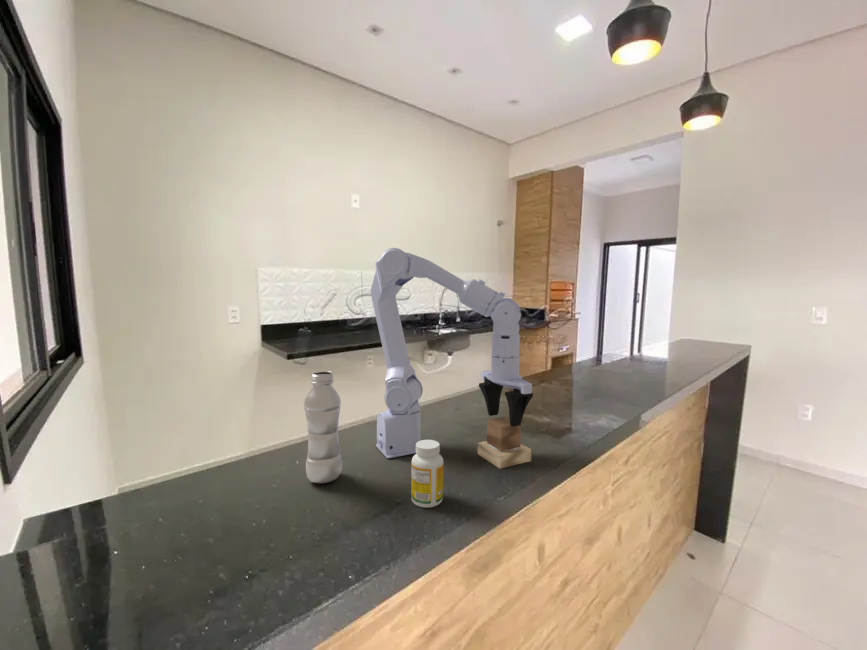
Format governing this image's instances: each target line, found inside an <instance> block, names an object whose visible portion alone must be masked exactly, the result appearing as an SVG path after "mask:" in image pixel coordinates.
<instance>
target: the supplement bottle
mask: <svg viewBox="0 0 867 650" xmlns="http://www.w3.org/2000/svg"><path fill="white" fill-rule="evenodd" d="M440 446H441V445H440V443H439V442H438V441H437V440H434V439H422V440H421V439H420V441H418V442H417V443H416V453H414V455H413V456H412V459H411V464H410V465H411V470H410V471H411V476H410V478H411V479H410V481H411V485H410V487H411V488H410V489H411V491H410V496H411V497H410V498H411V502H412V503H413V504H414V505H415V506H417V507H419V508H424V509H425V508H428V509H429V508H434V507H437V506H438V505H440V504H441V503H442V501H443V499H444V463H445V461H444V457H443V456H442V454H440V452H441V447H440Z"/></svg>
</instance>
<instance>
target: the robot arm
mask: <svg viewBox="0 0 867 650" xmlns="http://www.w3.org/2000/svg"><path fill="white" fill-rule="evenodd" d="M374 272H375V273H374V276H373V278H372V279H373V280H372V284H371V287H370V297H371V300H372V301H371V302H372V305H373V310H374V314H375V315H374V316H375V319H376V325H377V328H378V332H379V337H380V342H381V345H382V346H381V347H382V351H383V356H384V360H385V365H386V374H385V379H384V384H385V393H384V402H385V405H386V406H387V410H385V411H383V412H379V413H378V414H377V417H376V444H375V446H376V447H377V449H378V450H379V451H380V452H381V453H382V454H383V455H384V457H385V458H386V459H392V458H397V457H402V456H408V455H413V454H417V453H416V443H417V442H418V441H421V405H420V403H419V400H420V398H421V397H422V395H423V391H424V389H423V385H422V382H421V381H420V379H418V377H417V374H416V370H415V368H414V367H413V366H412V364H411V363H410V357H409V354H408V352H409V351H408V349H407V345H406V338H405V334H404V330H403V326H402V321H401V317H400V311H399V307H398V302H397V298H396V296H397V295H398V293H399V292H400V290H401V289H402V288H403V286H404V285H406V284H407V283H408V282H410V281H411V280H413V279H414V278H417V279H426V278H427V279H428V280H430V281H432V282H434V283H436V284H438V285H440V286H442V287H444V288H445V289H447V290H449V291H451V292H453V293H455V294H457V296H458V299H459V302H460V304H462V305H464V306H466V307H468V308H469V309H470V310H473V311H475V312H476V313H478V314H480V315H482V316H484V317H485V318H488V317H490V318H491V321H492V322H493V323H492V324H493V326H492V327H493V329H492V331H493V332H492V334H491V363H490V364H491V366H490V367H491V368H490V369H491V370H484V371H483V370H482V371H481V375H480V376H481V381H483V382H480V383H478V387H479V389H480V391H481V393H482V395H483V399H484V401H485V405H486V410H487V413H488V416H489V417H492V416H498V415H499V411H500V402H501V401H500V400H501V395H502V392H503V389H504V388H508V389H511V391H505V392H504V396H505V398H506V401H507V406H508V413H509V416H508V418H510V425H511V426H512V427H514V426H520V425H521V426H522V422H523V421H522V420H523V418H524V415H525V411H526V409H527V407H528V405H529V403H530V402H531V400H532V399H533V397H534V392H533V390H532V389H533V383H532V382H531V383H530V382H528V381H527V380H525V379H523V376H522V375H520V346H521V345H520V344H521V343H520V342H521V339H520V338H521V336H520V333H519V332H520V327H521V326H520V324H519V323H520V319H521V318H522V313H521V308H520V306H519V303H517V302H516V301H515V300H514V299H512V298H510V297H505V295H506V293H504V292H502V291H500V292H498V291H497V290H495V289H493V288H491V287H489V286H487V285H486V281H485V280H482V279H478V280H477V279H474V278H473V279H469V280H466V281H465V280H463V279H462V278H460V277H458V276H457V275H456V274H455V275H454V274H453V273H451V272H449V271H448V270H446V269H444V268H443V267H441V266H439V265H437V264H436V263H435V262H433V261H431V260H429V259H426V258H424V257H422V256H418V255H417V254H412V253H410V252H405V251H404V250H402V249H400V248H398V247H390V248H388V249H386V250H385V251H383V252H382V254H381V255H380V256H379V258H378V259H377V260H376V261H375V271H374Z"/></svg>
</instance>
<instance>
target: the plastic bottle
mask: <svg viewBox="0 0 867 650" xmlns="http://www.w3.org/2000/svg"><path fill="white" fill-rule="evenodd" d="M333 375H334V374H333V371H326V370H325V371H324V370H323V371H316V372H313V373H311V385H312V387H311V389H310V390H309V392H307V394H306V397H305V399H304V402H303V406H304V413H305V419H306V425H307V426H306V427H307V432H308V433H307V436H308V440H307V441H308V444H307V456H306V460H305V461H306V462H305V473H306V477H307V479H308V480H309V481H310V482H311V483H315V484H326V483H330V482H333V481H335V480H337V479H338V477H339V476H340V474H341V473H342V470H343V469H342V468H343V460H342V459H343V458H342V455H341V450H340V449H341V448H340V441H339V440H340V439H339V422H340V421H339V419H340V413H341V405H342V404H341V402H342V401H341V397H340V395H339V393H338V392H337V390H336V388H334V386H333V385H332V384H334V376H333Z"/></svg>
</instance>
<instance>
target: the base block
mask: <svg viewBox="0 0 867 650" xmlns="http://www.w3.org/2000/svg"><path fill="white" fill-rule="evenodd" d="M477 455H478V456H480V457H481V458H483V459H484V460H486V461H488V462H489V463H490V464H492V465H494V466H495V467H496V468H498V469H505V468H508V467H513V466H516V465H520V464H525V463H528V462H529V463H530V462H532V448H531V447H528V446H526V445H524V444H523V443H521V447H517V448H513V449H508V450H504V451H500V450H498V449H497V448H495V447H493V446H492V445H490V444H488V443H487V440H486V441H480V442H477Z"/></svg>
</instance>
